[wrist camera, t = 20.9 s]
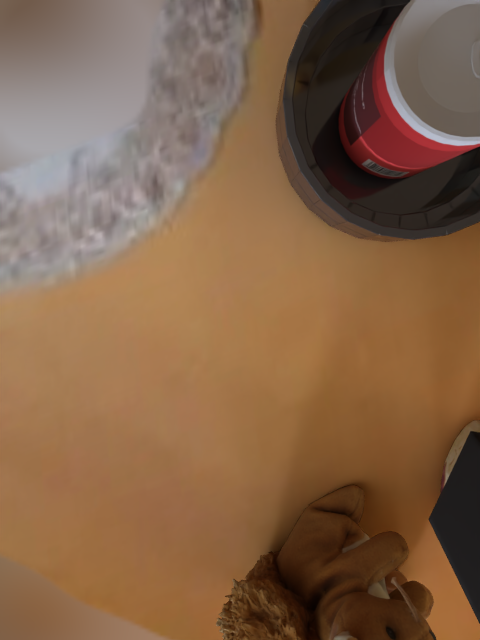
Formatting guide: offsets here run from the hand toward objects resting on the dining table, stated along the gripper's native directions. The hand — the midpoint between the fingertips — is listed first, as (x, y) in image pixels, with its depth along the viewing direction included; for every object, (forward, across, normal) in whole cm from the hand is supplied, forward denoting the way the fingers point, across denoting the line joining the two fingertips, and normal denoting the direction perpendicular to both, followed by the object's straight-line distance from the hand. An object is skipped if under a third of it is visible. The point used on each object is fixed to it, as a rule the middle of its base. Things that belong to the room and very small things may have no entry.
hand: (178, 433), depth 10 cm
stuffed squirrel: (+18, +12, -24) cm, 32 cm away
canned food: (+26, +11, +9) cm, 29 cm away
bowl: (+26, +11, +9) cm, 30 cm away
